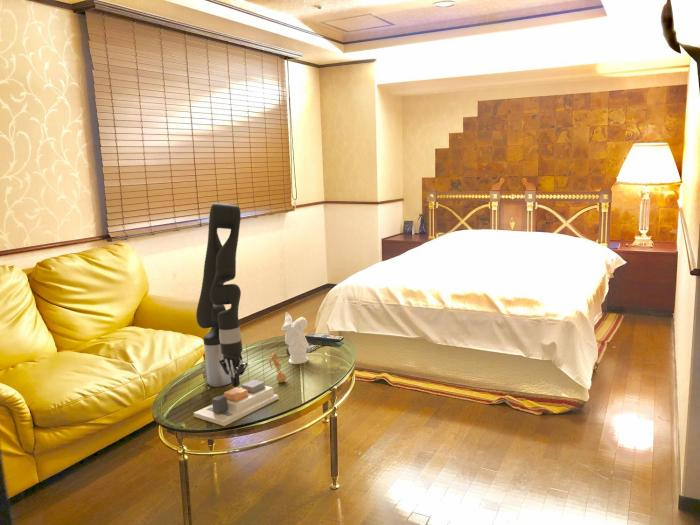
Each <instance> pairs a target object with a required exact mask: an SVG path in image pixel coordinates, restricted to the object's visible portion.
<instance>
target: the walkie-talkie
mask: <svg viewBox="0 0 700 525" xmlns="http://www.w3.org/2000/svg"><path fill="white" fill-rule="evenodd" d="M308 344H309V347H308V348H306V353H310V352H312V351H315V350H316V348H318V347H319V346H316V347H315V345H316V344H315V345H312V343H311V342H310V343H309V342H308ZM314 347H315V348H314ZM312 348H313V349H312ZM306 353H305V354H306ZM286 354H287V355H289V356H291V355H290V353H289V347H288V348H286Z"/></svg>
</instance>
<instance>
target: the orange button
mask: <svg viewBox="0 0 700 525" xmlns="http://www.w3.org/2000/svg"><path fill="white" fill-rule="evenodd" d="M223 395H224V396H226V397H227V400H229V401H233V402H237V401H239V400H241V399H243V398H245V397H247V396H248V390H246V389H242V388H241V387H239V386H238V387H233V388H231V389H229V390H227V391H224V392H223Z"/></svg>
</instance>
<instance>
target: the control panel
mask: <svg viewBox="0 0 700 525" xmlns="http://www.w3.org/2000/svg"><path fill="white" fill-rule="evenodd" d="M240 388H242V386H241V387H240ZM222 395H223V396H224V394H222ZM277 400H279V395H278V394H276V393H274V388H273V387H272V386H268V385H265V388H264V389H262V390H260V391H258V392H256V393H254V394H252V393H248V396H247V397H245V398H243V399H241V400H239V401H237V402H233V401H229V400H227V406H228V410H227V411H225V412H223V413H221V414H216V413H213V405H212V404H209V405H208V406H205V407H203V408H201V409H199V410H197V411H193V417H194V418H197V419H200V420H204V421H207V422H210V423H213V424H216V425H220V426H223V427H225V426H227V425H229V424H231V423H233V422H235V421H238V420H240V419H241V418H243V417H245V416H247V415H249V414H251V413H254V412H255V411H257V410H259V409H261V408H263V407H265V406H267V405H269V404H271V403H273V402H275V401H277Z"/></svg>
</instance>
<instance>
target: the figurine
mask: <svg viewBox="0 0 700 525" xmlns="http://www.w3.org/2000/svg"><path fill="white" fill-rule="evenodd" d="M278 358H279V360H281V361H282V362H284V360H283V359H282V358H281V357H280V356H279V355H278V354H277V353H276V352H275V353H272V354H271V355H270V358H269V362H268V363H269V366H270V368H271V369H273V366H274V367H275V369H276V372H277V374H276V376H275V377H276V381H277V382H278V383H280V384H281V383H282V384H283V383H285V382H286V380H287V375H286V373H284V372H283V371H282V370H280V369H281V367H282V364H280V362H279V360H278ZM271 361H272V362H273V366H272V362H271Z"/></svg>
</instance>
